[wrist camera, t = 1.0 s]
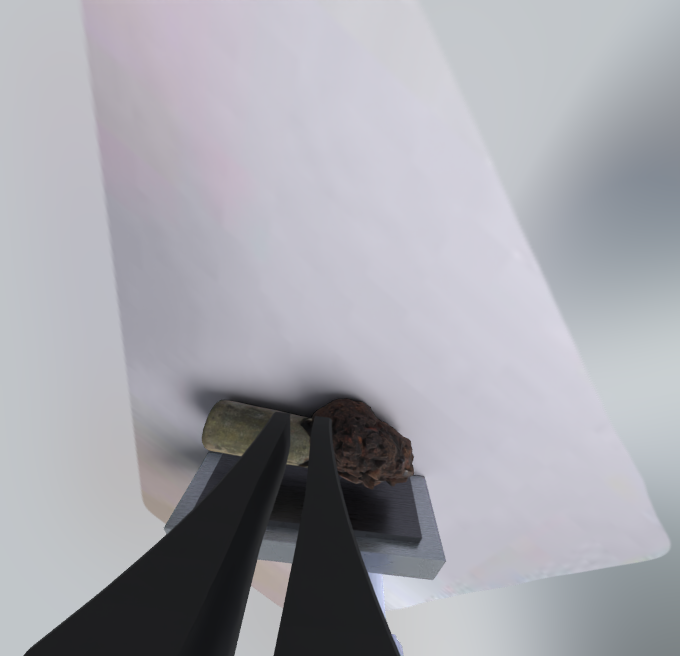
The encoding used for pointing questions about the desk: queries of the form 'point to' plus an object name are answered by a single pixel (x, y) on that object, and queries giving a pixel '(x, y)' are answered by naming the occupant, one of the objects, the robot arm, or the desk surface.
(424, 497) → the grey metal tray
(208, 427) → the corroded crusty cylinder
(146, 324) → the desk surface
